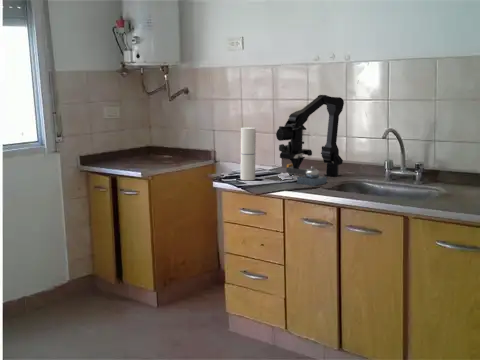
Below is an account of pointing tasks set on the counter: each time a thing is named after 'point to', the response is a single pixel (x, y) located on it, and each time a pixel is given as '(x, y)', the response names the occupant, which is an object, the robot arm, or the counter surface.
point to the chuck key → (290, 166)
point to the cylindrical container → (248, 153)
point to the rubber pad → (274, 178)
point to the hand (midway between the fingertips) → (295, 171)
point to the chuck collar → (304, 171)
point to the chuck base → (311, 180)
